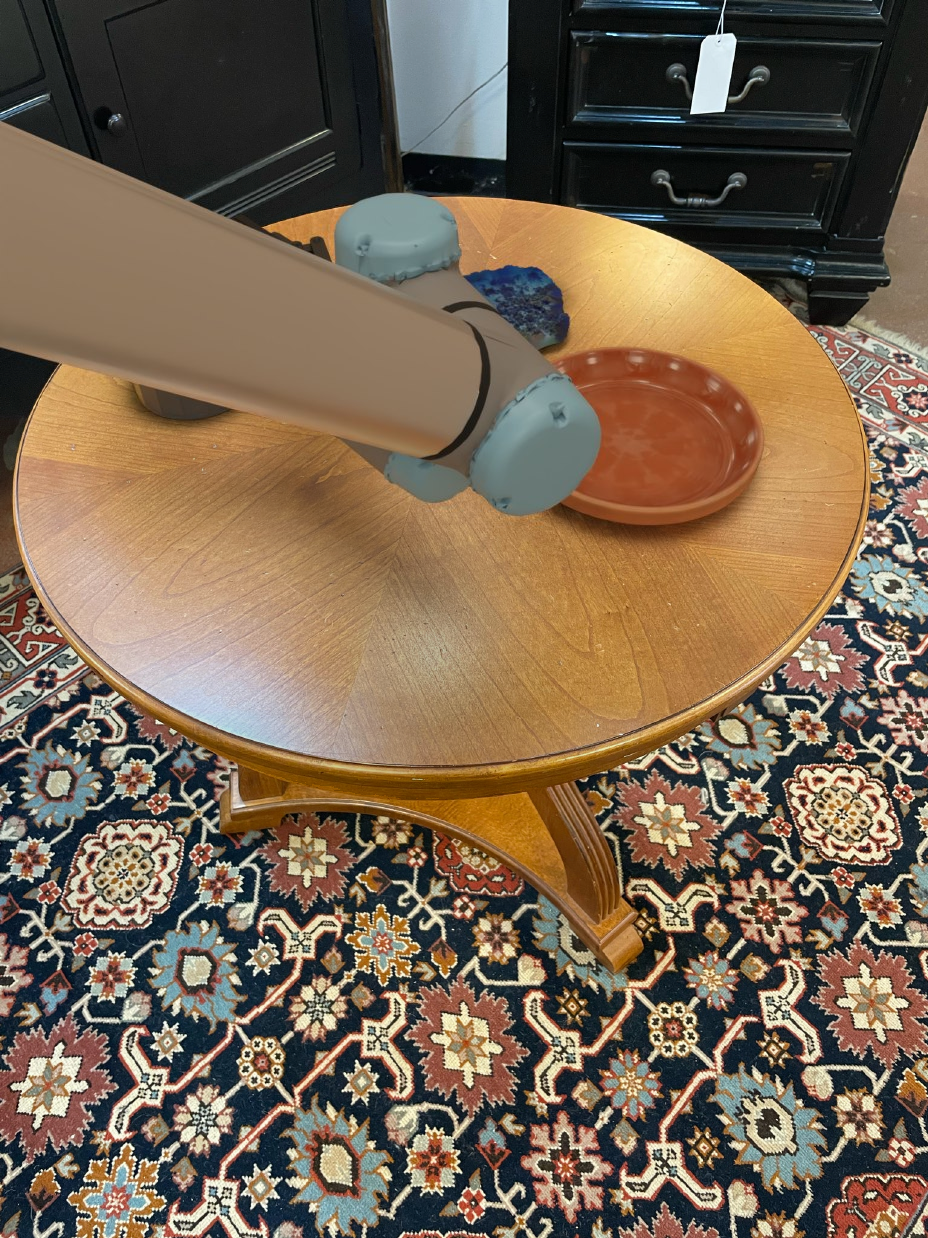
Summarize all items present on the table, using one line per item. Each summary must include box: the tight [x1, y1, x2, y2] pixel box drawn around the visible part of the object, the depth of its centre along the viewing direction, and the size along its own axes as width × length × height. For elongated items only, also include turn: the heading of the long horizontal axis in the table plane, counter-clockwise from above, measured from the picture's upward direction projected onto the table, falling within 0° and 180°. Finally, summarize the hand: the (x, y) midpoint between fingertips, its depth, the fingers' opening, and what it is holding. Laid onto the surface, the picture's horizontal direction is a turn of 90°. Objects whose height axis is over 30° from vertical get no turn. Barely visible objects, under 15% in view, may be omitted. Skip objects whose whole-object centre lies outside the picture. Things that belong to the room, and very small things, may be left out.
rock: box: [462, 264, 571, 351], centre depth 102 cm, size 15×17×2 cm
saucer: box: [549, 346, 766, 526], centre depth 87 cm, size 23×23×4 cm
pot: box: [132, 382, 232, 421], centre depth 93 cm, size 11×11×7 cm
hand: (174, 256), depth 82 cm, fingers open, 13 cm apart
